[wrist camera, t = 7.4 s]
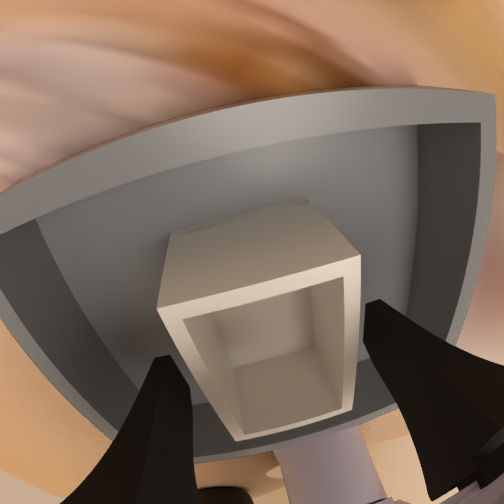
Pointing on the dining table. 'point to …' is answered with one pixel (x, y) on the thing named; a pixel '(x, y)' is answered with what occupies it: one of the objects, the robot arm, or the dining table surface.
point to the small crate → (266, 315)
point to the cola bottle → (224, 496)
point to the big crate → (238, 201)
